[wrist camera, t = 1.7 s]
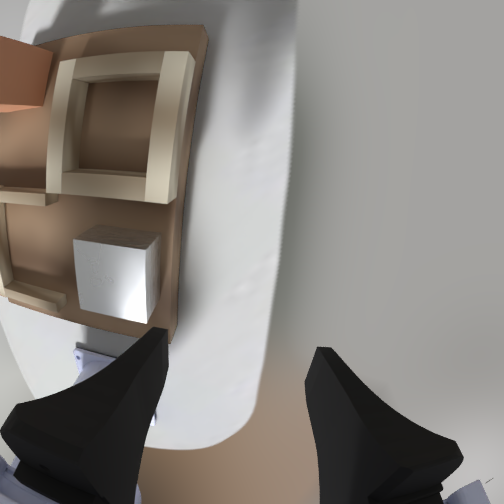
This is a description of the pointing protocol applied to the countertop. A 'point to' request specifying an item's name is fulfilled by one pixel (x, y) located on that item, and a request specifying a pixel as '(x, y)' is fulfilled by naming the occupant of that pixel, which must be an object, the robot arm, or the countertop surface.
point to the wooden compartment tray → (91, 157)
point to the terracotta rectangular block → (22, 75)
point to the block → (118, 271)
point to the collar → (162, 133)
